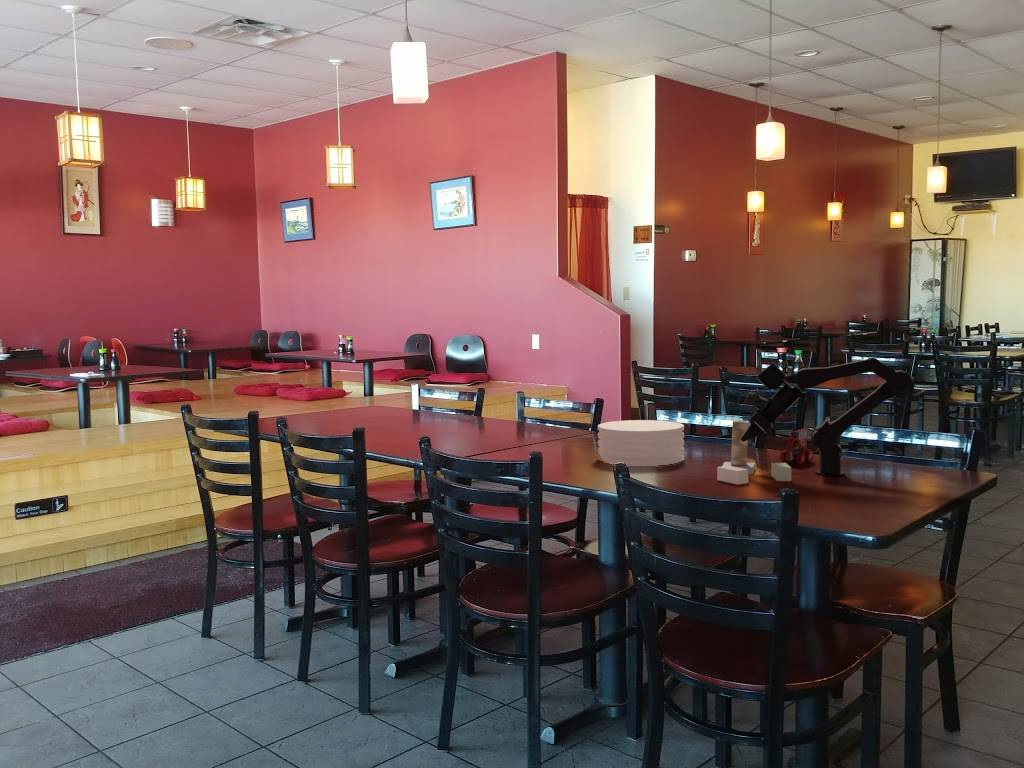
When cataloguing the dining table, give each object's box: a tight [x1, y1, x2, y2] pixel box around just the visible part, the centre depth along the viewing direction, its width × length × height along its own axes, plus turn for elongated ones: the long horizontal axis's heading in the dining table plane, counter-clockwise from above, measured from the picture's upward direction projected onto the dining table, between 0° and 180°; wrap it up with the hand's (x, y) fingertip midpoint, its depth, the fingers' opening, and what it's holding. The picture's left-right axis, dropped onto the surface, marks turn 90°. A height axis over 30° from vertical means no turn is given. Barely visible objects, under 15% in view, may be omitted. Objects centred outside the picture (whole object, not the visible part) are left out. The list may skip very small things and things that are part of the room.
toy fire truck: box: [779, 428, 814, 465], centre depth 278 cm, size 7×12×10 cm, turn 136°
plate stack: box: [597, 419, 685, 467], centre depth 290 cm, size 28×28×12 cm
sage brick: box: [770, 462, 792, 482], centre depth 253 cm, size 8×4×4 cm, turn 174°
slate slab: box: [722, 461, 756, 475], centre depth 266 cm, size 9×9×2 cm
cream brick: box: [716, 466, 749, 485], centre depth 250 cm, size 8×4×4 cm, turn 31°
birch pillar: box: [730, 419, 749, 466], centre depth 266 cm, size 4×4×13 cm
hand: (743, 438), depth 265 cm, fingers open, 9 cm apart
